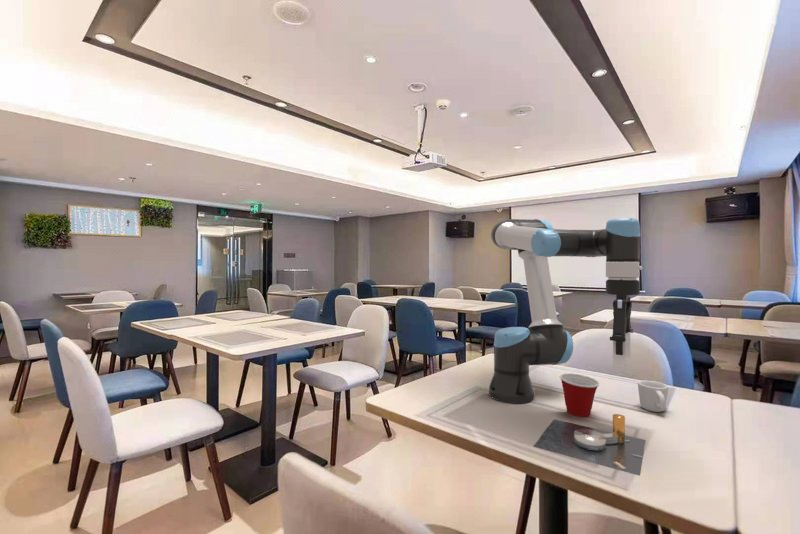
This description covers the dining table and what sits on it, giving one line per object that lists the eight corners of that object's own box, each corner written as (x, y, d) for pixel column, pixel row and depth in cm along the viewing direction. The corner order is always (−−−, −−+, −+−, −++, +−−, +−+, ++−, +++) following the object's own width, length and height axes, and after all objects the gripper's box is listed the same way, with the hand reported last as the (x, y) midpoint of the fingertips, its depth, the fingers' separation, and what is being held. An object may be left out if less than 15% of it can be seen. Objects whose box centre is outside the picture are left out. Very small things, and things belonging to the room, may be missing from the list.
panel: (533, 452, 93) (533, 445, 93) (553, 424, 109) (554, 418, 109) (639, 482, 80) (640, 474, 80) (645, 445, 96) (645, 439, 96)
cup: (677, 418, 113) (677, 391, 113) (647, 416, 115) (648, 390, 114) (660, 405, 124) (660, 381, 123) (633, 403, 125) (633, 379, 125)
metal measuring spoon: (585, 451, 89) (586, 425, 89) (568, 438, 96) (568, 413, 96) (634, 447, 92) (634, 421, 92) (613, 434, 98) (613, 410, 98)
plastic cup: (592, 429, 106) (592, 386, 105) (553, 418, 113) (553, 378, 113) (604, 418, 113) (605, 378, 113) (567, 408, 121) (567, 370, 121)
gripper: (636, 281, 86) (636, 375, 86) (642, 277, 106) (641, 354, 106) (599, 280, 90) (598, 370, 90) (611, 277, 110) (611, 351, 110)
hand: (622, 362), depth 98 cm, fingers open, 12 cm apart
